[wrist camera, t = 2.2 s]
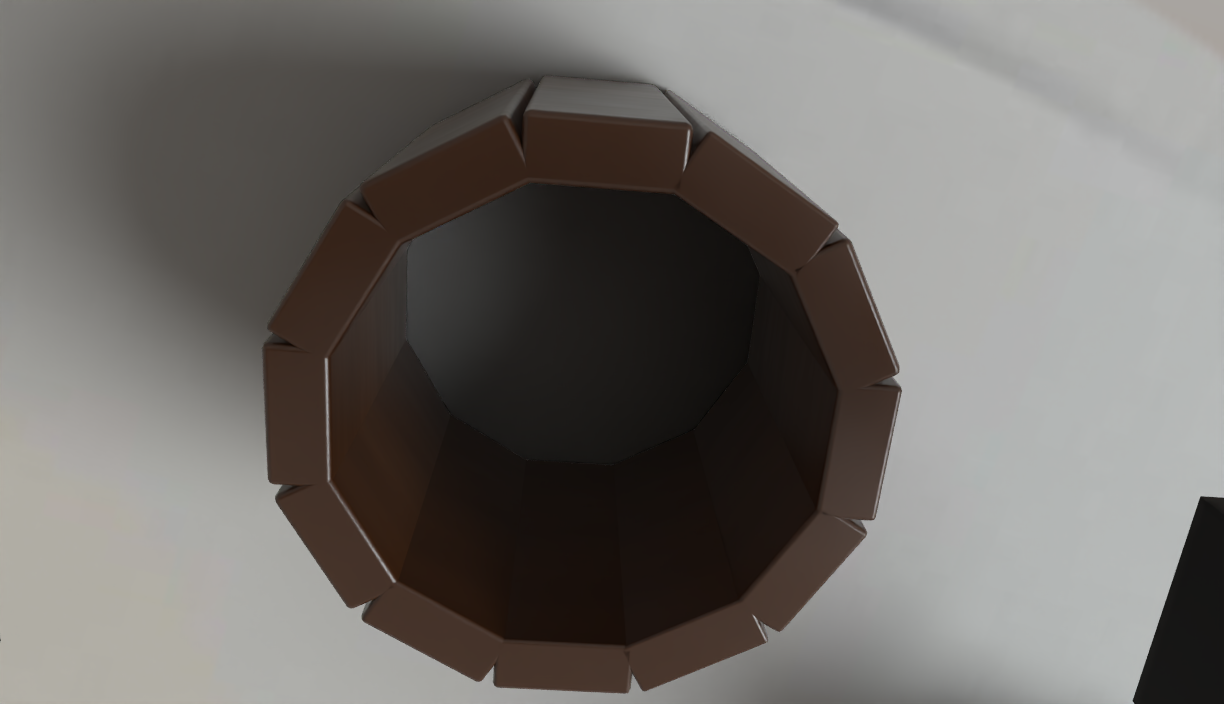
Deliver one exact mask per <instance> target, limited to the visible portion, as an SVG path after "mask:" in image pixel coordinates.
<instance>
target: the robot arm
mask: <svg viewBox="0 0 1224 704" xmlns="http://www.w3.org/2000/svg"><path fill="white" fill-rule="evenodd" d="M0 641H1V640H0ZM1133 702H1134V703H1135V704H1224V498H1217V497H1202V496H1201V497H1200V500H1199V503H1198V506H1197V509H1196V512H1195V515H1194V518H1193V521H1192V524H1191V527H1190V530H1189V533H1188V536H1187V539H1186V542H1185V545H1184V548H1183V551H1182V554H1181V557H1180V560H1179V563H1178V566H1177V569H1176V572H1175V575H1174V578H1173V581H1172V584H1171V587H1170V590H1169V593H1168V596H1167V599H1166V602H1165V605H1164V608H1163V611H1162V614H1161V617H1160V620H1159V623H1158V626H1157V629H1156V632H1155V635H1154V638H1153V641H1152V644H1151V647H1150V650H1149V653H1148V656H1147V659H1146V662H1145V665H1144V668H1143V671H1142V674H1141V677H1140V680H1139V683H1138V686H1137V689H1136V692H1135V695H1134V698H1133Z"/></svg>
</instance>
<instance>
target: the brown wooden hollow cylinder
mask: <svg viewBox="0 0 1224 704" xmlns="http://www.w3.org/2000/svg"><path fill="white" fill-rule="evenodd" d="M529 183H535V184H548V185H560V186H573V187H585V188H598V189H611V190H623V191H636V192H648V193H661V194H673V195H676V196H677V197H679V198H680V199H681V200H683V201H684V202H686V203H687V204H689V205H690V206H691V207H693V208H694V209H696V210H697V211H699V212H700V213H701V214H703V215H704V216H706V217H707V218H709V219H710V220H711V221H713V222H714V223H716V224H717V225H719V226H720V227H721V228H723V229H724V230H726V231H727V232H729V233H730V234H731V235H733V236H734V237H736V238H737V239H738V240H740V241H741V242H743V243H744V244H746V245H747V246H748V248H749V251H750V253H751V255H752V258H753V260H754V262H755V265H756V267H757V269H758V272H759V274H760V278H759V285H758V292H757V299H756V306H755V312H754V319H753V326H752V333H751V340H750V347H749V354H748V361H747V363H746V365H745V366H744V367H743V368H742V370H741V371H740V372H739V373H738V375H737V376H736V377H735V378H734V380H733V381H732V382H731V384H730V385H729V386H728V387H727V389H726V390H725V391H724V392H723V394H722V395H721V396H720V397H719V399H718V400H717V401H716V403H715V404H714V405H713V406H712V408H711V409H710V410H709V411H708V413H707V414H706V415H705V416H704V418H703V419H702V420H701V422H700V423H699V424H698V425H697V427H696V428H695V429H694V430H692V431H690V432H687V433H685V434H683V435H680V436H678V437H676V438H673V439H671V440H669V441H667V442H664V443H662V444H660V445H657V446H655V447H653V448H650V449H648V450H646V451H644V452H641V453H639V454H637V455H634V456H632V457H630V458H627V459H625V460H623V461H621V462H618V463H616V464H614V465H606V464H590V463H574V462H558V461H542V460H526V459H524V458H522V457H521V456H519V455H517V454H516V453H514V452H512V451H511V450H509V449H507V448H506V447H504V446H502V445H500V444H499V443H497V442H495V441H494V440H492V439H490V438H489V437H487V436H485V435H484V434H482V433H480V432H479V431H477V430H475V429H474V428H472V427H470V426H469V425H467V424H465V423H464V422H462V421H460V420H459V419H457V418H455V417H454V416H452V415H450V413H449V411H448V410H447V408H446V406H445V405H444V403H443V401H442V399H441V398H440V396H439V394H438V393H437V391H436V389H435V387H434V386H433V384H432V382H431V381H430V379H429V377H428V375H427V374H426V372H425V370H424V369H423V367H422V365H421V363H420V362H419V360H418V358H417V357H416V355H415V353H414V351H413V350H412V348H411V346H410V345H409V343H408V341H407V339H406V311H407V248H408V247H409V245H410V244H411V242H412V241H413V239H415V238H417V237H419V236H421V235H423V234H425V233H427V232H429V231H431V230H433V229H435V228H438V227H440V226H442V225H444V224H446V223H448V222H450V221H452V220H454V219H456V218H458V217H460V216H463V215H465V214H467V213H469V212H471V211H473V210H475V209H477V208H479V207H481V206H483V205H485V204H488V203H490V202H492V201H494V200H496V199H498V198H500V197H502V196H504V195H506V194H508V193H510V192H513V191H515V190H517V189H519V188H521V187H523V186H525V185H527V184H529ZM838 225H839V224H838V223H837V221H836V220H835V219H833V218H832V217H831V216H830V215H829V214H828V213H826V212H825V211H824V210H823V209H822V208H820V207H819V206H818V205H817V204H816V203H815V202H813V201H812V200H811V199H810V198H809V197H807V196H806V195H805V194H804V193H803V192H801V191H800V190H799V189H798V188H797V187H796V186H794V185H793V184H792V183H791V182H790V181H788V180H787V179H786V178H785V177H784V176H783V175H781V174H780V173H779V172H778V171H777V170H775V169H774V168H773V167H772V166H771V165H770V164H768V163H767V162H766V161H765V160H764V159H762V158H761V157H760V156H759V155H758V154H757V153H755V152H754V151H753V150H751V149H750V148H748V147H747V146H746V145H744V144H743V143H742V142H740V141H739V140H738V139H736V138H735V137H733V136H732V135H731V134H729V133H728V132H727V131H725V130H724V129H722V128H721V127H720V126H718V125H717V124H716V123H714V122H713V121H712V120H710V119H709V118H707V117H706V116H705V115H703V114H702V113H701V112H699V111H698V110H697V109H695V108H694V107H692V106H691V105H690V104H688V103H687V102H686V101H684V100H683V99H681V98H680V97H679V96H677V95H676V94H675V93H673V92H672V91H670V90H667V91H666V92H665V93H664V94H663V93H662V92H661V91H660V90H659V89H658V88H657V87H656V86H655V85H653V84H642V83H631V82H619V81H608V80H596V79H585V78H573V77H562V76H550V75H546V76H543V77H542V79H541V81H540V83H539V85H538V87H537V89H536V87H535V85H534V83H533V81H532V80H530V79H525V80H523V81H521V82H519V83H517V84H515V85H513V86H511V87H509V88H507V89H505V90H503V91H501V92H499V93H497V94H495V95H493V96H491V97H489V98H487V99H485V100H483V101H481V102H479V103H477V104H475V105H473V106H471V107H469V108H467V109H465V110H463V111H461V112H459V113H456V114H454V115H452V116H450V117H448V118H446V119H444V120H442V121H440V122H438V123H436V124H434V125H432V126H431V127H430V128H429V129H427V130H426V131H425V132H424V133H422V134H421V135H420V136H419V137H417V138H416V139H415V140H414V141H413V142H411V143H410V144H409V145H408V146H406V147H405V148H404V149H403V150H402V151H400V152H399V153H398V154H397V155H395V156H394V157H393V158H392V159H391V160H389V161H388V162H387V163H386V164H384V165H383V166H382V167H381V168H379V169H378V170H377V171H376V172H375V173H373V174H372V175H371V176H370V177H368V178H367V179H366V180H365V181H364V182H363V183H362V184H361V185H360V186H359V187H358V188H357V189H356V190H354V191H353V192H352V193H351V194H350V195H348V196H347V197H346V198H345V199H344V200H342V201H341V203H340V204H339V206H338V208H337V209H336V211H335V212H334V214H333V216H332V217H331V219H330V221H329V222H328V224H327V226H326V227H325V229H324V231H323V232H322V234H321V236H320V237H319V239H318V241H317V242H316V244H315V246H314V247H313V249H312V251H311V252H310V254H309V255H308V257H307V259H306V260H305V262H304V264H303V265H302V267H301V269H300V270H299V272H298V274H297V275H296V277H295V279H294V280H293V282H292V284H291V285H290V287H289V289H288V290H287V292H286V294H285V295H284V297H283V298H282V300H281V302H280V303H279V305H278V307H277V308H276V310H275V312H274V313H273V315H272V317H271V318H270V320H269V322H268V326H267V329H268V330H269V331H270V332H272V333H273V334H272V335H271V336H270V337H269V338H268V340H267V341H266V342H265V343H264V344H263V347H262V359H263V381H264V404H265V426H266V448H267V470H268V480H269V482H270V483H272V484H280V485H282V486H281V488H280V489H279V491H278V493H277V494H276V496H275V500H276V503H277V504H278V506H279V507H280V509H281V510H282V512H283V513H284V515H285V516H286V518H287V519H288V521H289V522H290V523H291V525H292V526H293V528H294V529H295V531H296V532H297V534H298V535H299V537H300V538H301V540H302V541H303V543H304V544H305V545H306V547H307V548H308V550H309V551H310V553H311V554H312V556H313V557H314V559H315V560H316V562H317V563H318V565H319V566H320V567H321V569H322V570H323V572H324V573H325V575H326V576H327V578H328V579H329V581H330V582H331V584H332V585H333V587H334V588H335V589H336V591H337V592H338V594H339V595H340V597H341V598H342V600H343V601H344V603H345V604H346V606H347V607H349V608H355V607H357V606H359V605H362V604H364V603H366V605H365V608H364V610H363V613H362V620H363V621H364V622H365V623H367V624H369V625H371V626H372V627H374V628H376V629H378V630H380V631H382V632H384V633H386V634H388V635H390V636H391V637H393V638H395V639H397V640H399V641H401V642H403V643H405V644H407V645H408V646H410V647H412V648H414V649H416V650H418V651H420V652H422V653H424V654H425V655H427V656H429V657H431V658H433V659H435V660H437V661H439V662H441V663H443V664H444V665H446V666H448V667H450V668H452V669H454V670H456V671H458V672H460V673H461V674H463V675H465V676H467V677H469V678H471V679H473V680H475V681H477V682H480V681H482V680H483V679H484V677H485V676H486V675H487V673H488V672H489V671H490V670H491V668H492V667H493V666H494V675H493V683H494V685H495V686H496V687H500V688H520V689H541V690H562V691H583V692H604V693H624V694H625V693H628V692H629V690H630V687H631V678H632V674H633V675H634V677H635V679H636V681H637V682H638V684H639V686H640V688H641V689H642V690H643V691H647V690H650V689H652V688H655V687H657V686H660V685H662V684H665V683H667V682H670V681H672V680H675V679H677V678H680V677H682V676H685V675H687V674H690V673H692V672H695V671H697V670H700V669H702V668H705V667H707V666H710V665H712V664H715V663H717V662H720V661H722V660H725V659H727V658H730V657H732V656H735V655H737V654H740V653H742V652H745V651H747V650H750V649H752V648H754V647H757V646H759V645H762V644H764V643H766V642H768V637H767V633H766V630H765V627H764V624H765V625H767V626H769V627H770V628H772V629H774V630H776V631H778V632H780V631H782V630H783V629H784V628H785V627H786V626H787V624H788V623H789V622H790V621H791V620H792V619H793V618H794V617H795V615H796V614H797V613H798V612H799V611H800V610H801V609H802V608H803V606H804V605H805V604H806V603H807V602H808V601H809V600H810V599H811V597H812V596H813V595H814V594H815V593H816V592H817V591H818V590H819V588H820V587H821V586H822V585H823V584H824V583H825V582H826V581H827V580H828V578H829V577H830V576H831V575H832V574H833V573H834V572H835V571H836V569H837V568H838V567H839V566H840V565H841V564H842V563H843V562H844V560H845V559H846V558H847V557H848V556H849V555H850V554H851V553H852V551H853V550H854V549H855V548H856V547H857V546H858V545H859V544H860V542H861V541H862V540H863V539H864V538H865V537H866V535H867V531H866V529H865V527H864V525H863V524H862V522H861V520H874V519H875V517H876V513H877V508H878V503H879V498H880V494H881V489H882V484H883V479H884V474H885V469H886V465H887V460H888V455H889V450H890V445H891V440H892V436H893V431H894V426H895V421H896V416H897V411H898V407H899V402H900V397H901V392H902V390H901V387H900V385H899V384H898V383H897V382H896V381H895V379H894V378H893V377H892V376H895V375H897V374H898V373H899V364H898V361H897V359H896V356H895V353H894V351H893V348H892V346H891V343H890V341H889V338H888V335H887V333H886V330H885V328H884V325H883V322H882V320H881V317H880V315H879V312H878V309H877V307H876V304H875V302H874V299H873V296H872V294H871V291H870V289H869V286H868V284H867V281H866V278H865V276H864V273H863V271H862V268H861V265H860V263H859V260H858V258H857V255H856V252H855V250H854V247H853V245H852V242H851V241H850V240H849V239H848V238H847V237H846V236H845V235H844V234H843V233H841V232H840V231H839V230H838V229H837V228H838Z"/></svg>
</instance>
